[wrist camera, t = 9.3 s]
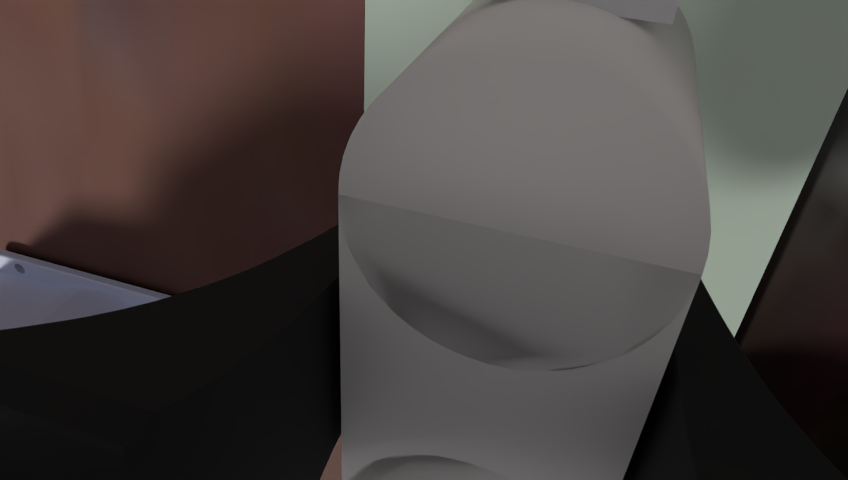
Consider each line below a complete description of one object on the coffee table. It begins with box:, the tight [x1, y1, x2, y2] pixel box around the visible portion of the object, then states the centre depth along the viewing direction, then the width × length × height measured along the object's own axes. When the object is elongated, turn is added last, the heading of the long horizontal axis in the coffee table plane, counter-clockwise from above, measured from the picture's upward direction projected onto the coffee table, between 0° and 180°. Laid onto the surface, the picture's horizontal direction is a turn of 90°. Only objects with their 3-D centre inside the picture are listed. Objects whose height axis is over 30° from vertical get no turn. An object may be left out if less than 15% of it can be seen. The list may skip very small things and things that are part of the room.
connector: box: [338, 0, 711, 480], centre depth 10 cm, size 4×13×5 cm, turn 176°
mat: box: [364, 0, 848, 337], centre depth 18 cm, size 12×16×1 cm
